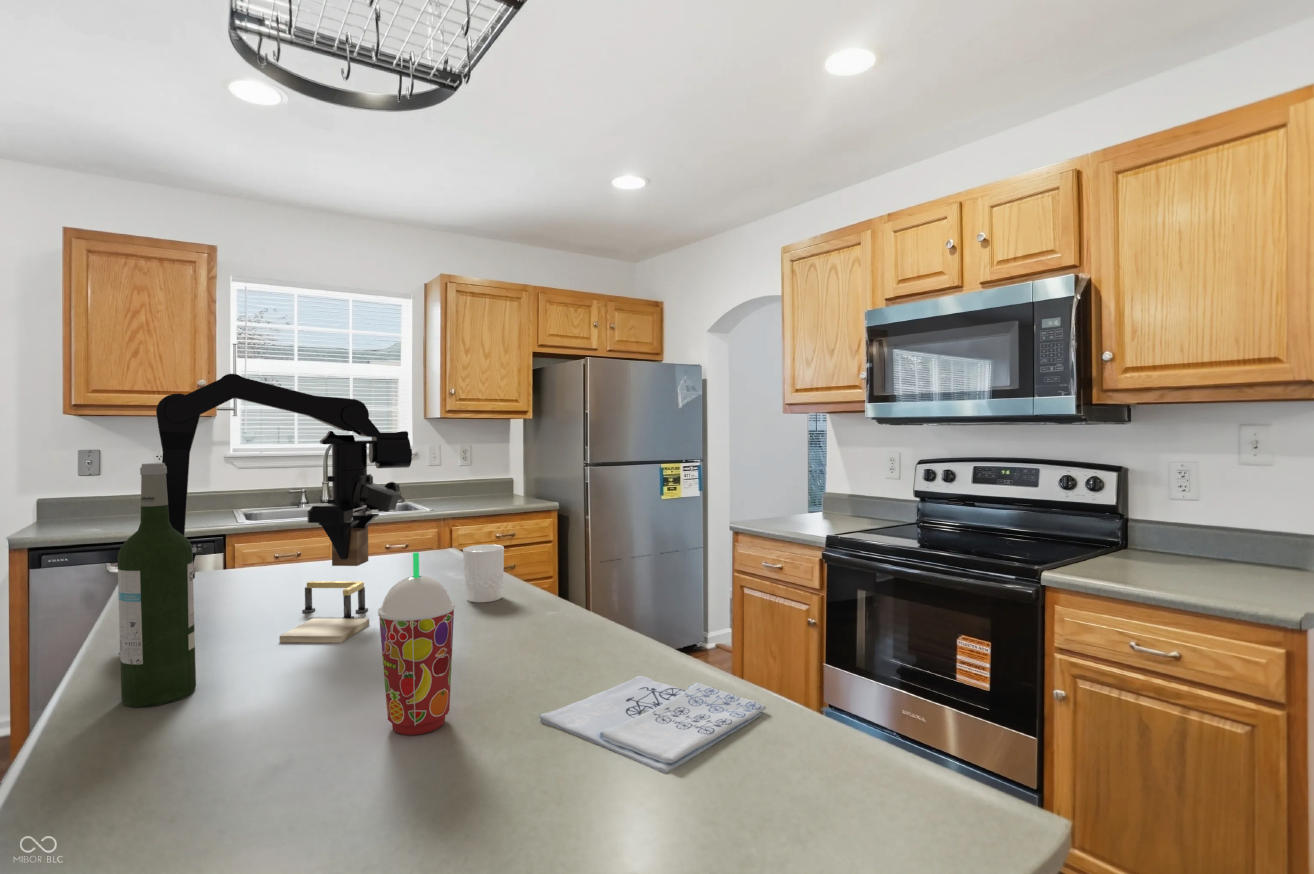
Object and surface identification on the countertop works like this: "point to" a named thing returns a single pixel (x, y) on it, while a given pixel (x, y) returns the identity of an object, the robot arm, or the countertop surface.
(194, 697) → the countertop surface
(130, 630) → the wine bottle
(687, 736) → the folded bicycle towel
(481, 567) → the white cup
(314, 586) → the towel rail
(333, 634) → the birch pad
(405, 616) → the smoothie
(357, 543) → the walnut block
